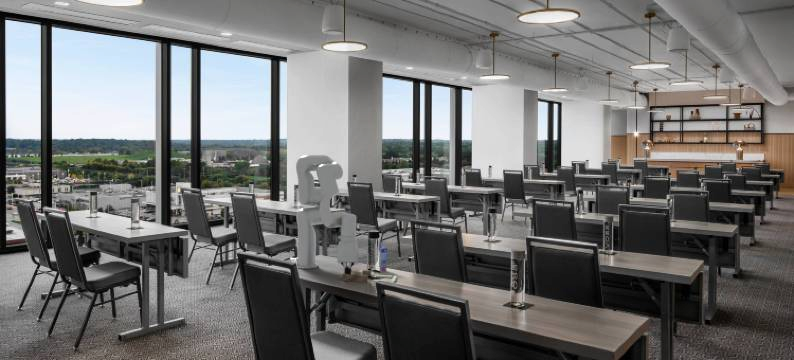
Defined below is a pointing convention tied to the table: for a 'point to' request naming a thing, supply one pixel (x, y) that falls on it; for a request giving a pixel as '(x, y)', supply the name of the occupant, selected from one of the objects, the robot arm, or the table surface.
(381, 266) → the ink cartridge box
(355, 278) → the corridor
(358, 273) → the birch block
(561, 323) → the table surface
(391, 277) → the frame
